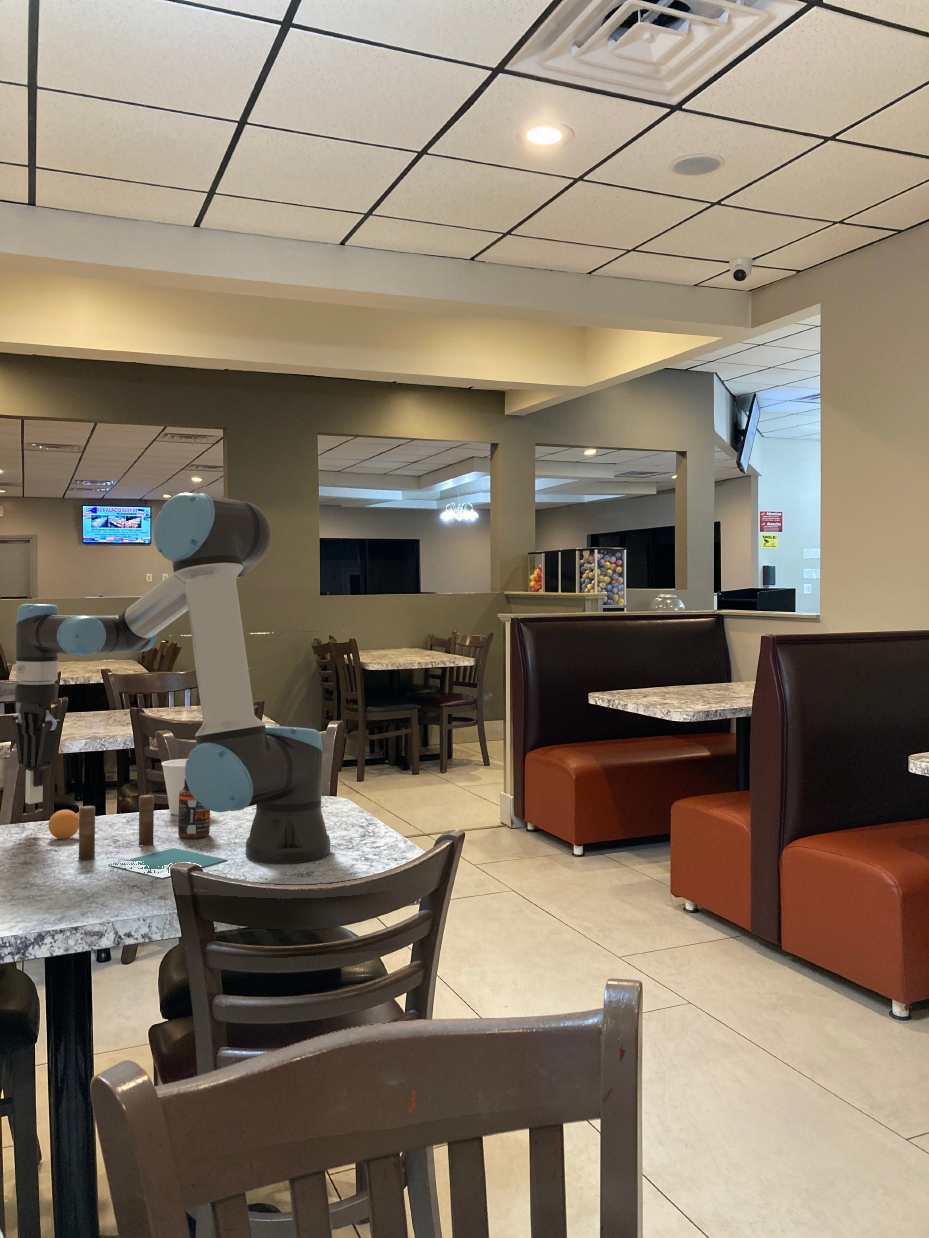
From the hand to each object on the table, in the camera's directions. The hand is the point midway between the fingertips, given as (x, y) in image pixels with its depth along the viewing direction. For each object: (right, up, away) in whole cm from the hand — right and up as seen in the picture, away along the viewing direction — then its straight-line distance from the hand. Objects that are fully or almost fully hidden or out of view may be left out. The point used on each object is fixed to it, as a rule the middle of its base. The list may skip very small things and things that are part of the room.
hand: (33, 802), depth 184 cm
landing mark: (+33, -6, -22) cm, 40 cm away
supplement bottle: (+32, -7, -2) cm, 33 cm away
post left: (+18, -6, -19) cm, 27 cm away
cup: (+24, -6, +19) cm, 31 cm away
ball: (+8, -3, -5) cm, 10 cm away
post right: (+25, -6, -9) cm, 27 cm away
